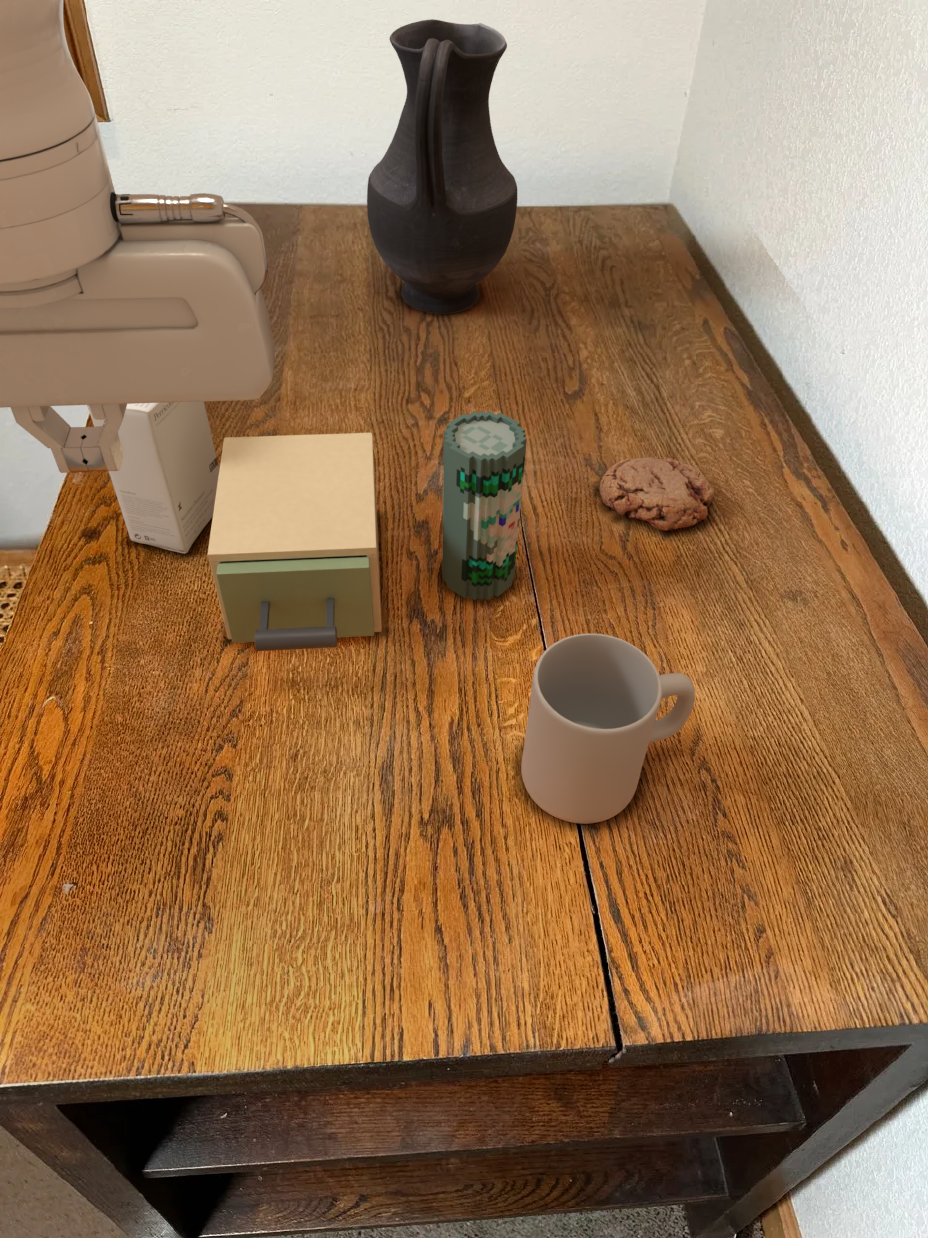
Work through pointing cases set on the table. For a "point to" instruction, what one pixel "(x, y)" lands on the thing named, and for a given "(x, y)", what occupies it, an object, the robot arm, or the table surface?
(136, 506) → the cosmetic box
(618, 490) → the cookie
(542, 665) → the mug
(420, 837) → the table surface
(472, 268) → the pitcher
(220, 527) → the cabinet
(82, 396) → the robot arm
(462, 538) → the can
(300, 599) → the drawer
